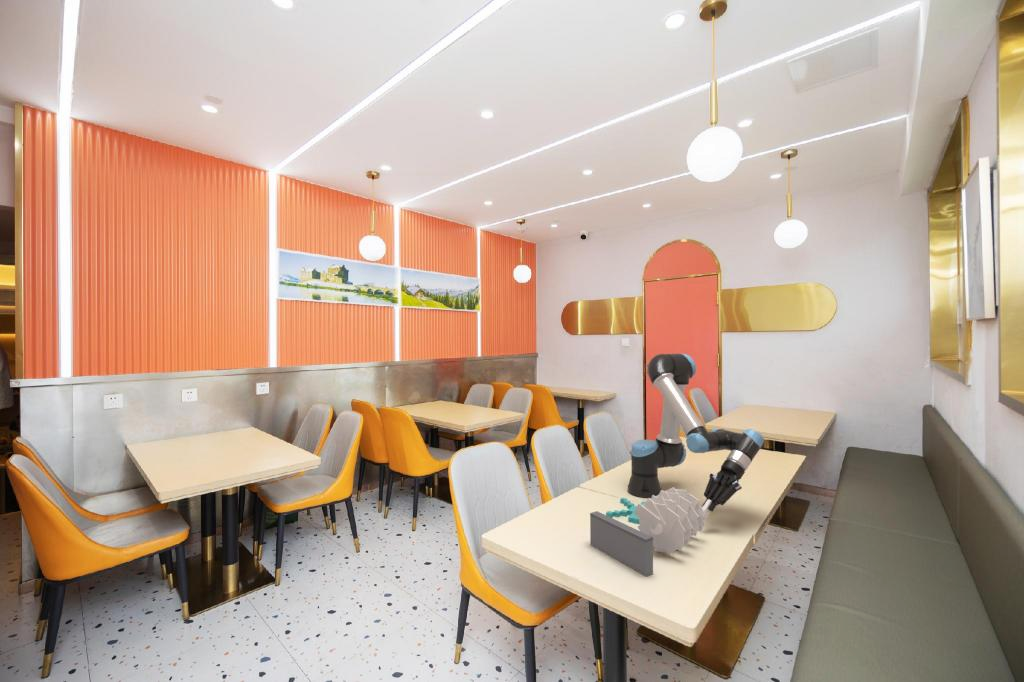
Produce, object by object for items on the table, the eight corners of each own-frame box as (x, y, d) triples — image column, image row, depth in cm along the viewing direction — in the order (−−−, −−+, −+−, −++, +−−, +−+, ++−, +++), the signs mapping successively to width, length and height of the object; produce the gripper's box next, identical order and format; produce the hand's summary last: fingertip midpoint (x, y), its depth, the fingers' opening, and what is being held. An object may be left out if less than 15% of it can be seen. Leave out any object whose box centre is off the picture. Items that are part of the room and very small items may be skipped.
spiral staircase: (695, 547, 154) (668, 570, 135) (652, 513, 165) (622, 531, 146) (719, 505, 150) (694, 524, 131) (673, 474, 161) (644, 487, 142)
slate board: (590, 544, 147) (590, 513, 147) (597, 542, 149) (597, 511, 149) (645, 576, 127) (645, 539, 127) (653, 573, 128) (653, 537, 129)
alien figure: (606, 518, 171) (657, 529, 160) (606, 512, 171) (657, 523, 160) (621, 502, 188) (669, 511, 177) (621, 497, 188) (669, 506, 177)
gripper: (756, 476, 158) (722, 529, 151) (726, 467, 170) (694, 516, 163) (745, 463, 156) (711, 516, 149) (716, 454, 168) (683, 503, 161)
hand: (702, 516), depth 156 cm, fingers closed
